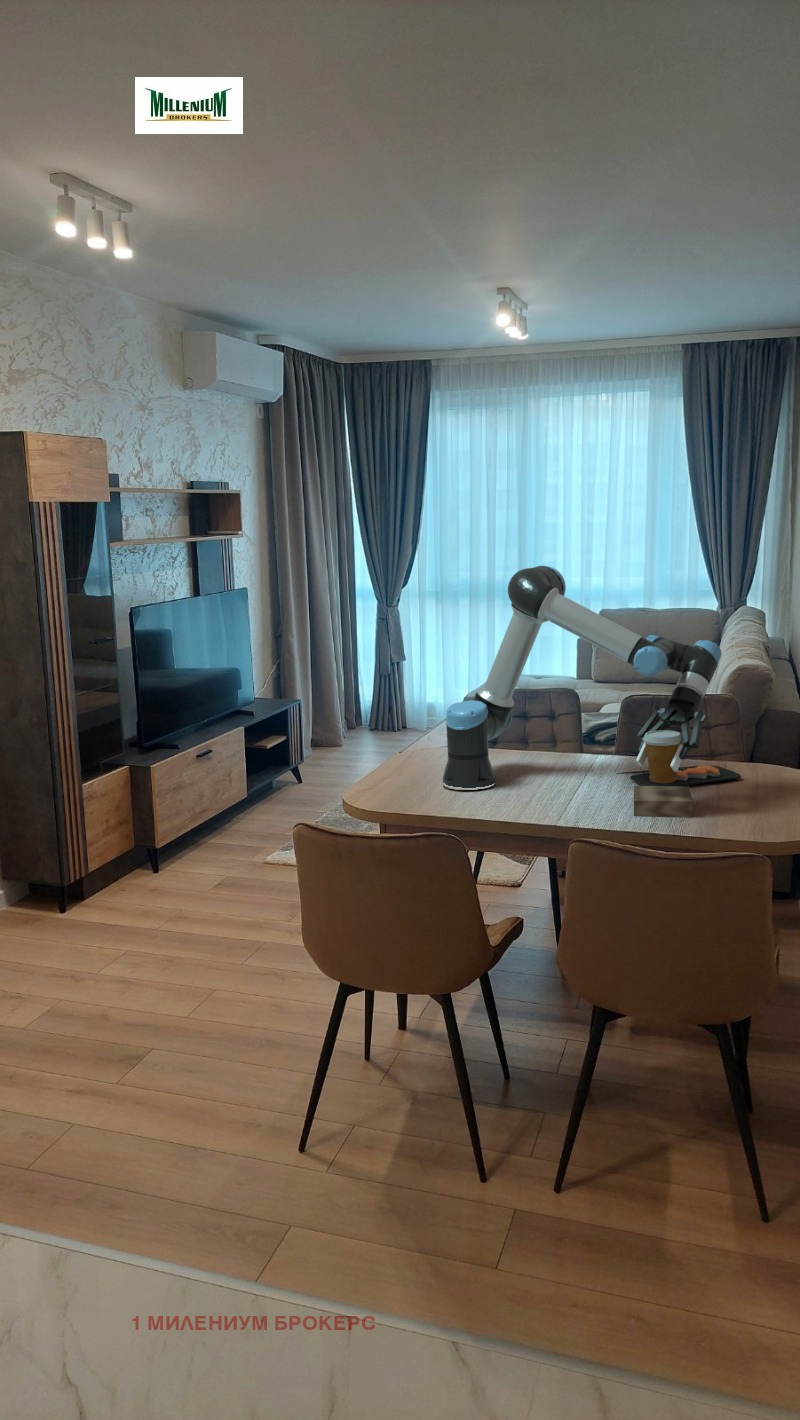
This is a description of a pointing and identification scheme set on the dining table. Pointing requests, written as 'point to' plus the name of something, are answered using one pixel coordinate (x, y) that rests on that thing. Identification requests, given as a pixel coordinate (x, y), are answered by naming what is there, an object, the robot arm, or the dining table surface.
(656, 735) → the disposable coffee cup
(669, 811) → the walnut base
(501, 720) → the robot arm
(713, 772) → the sushi plate
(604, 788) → the dining table surface
